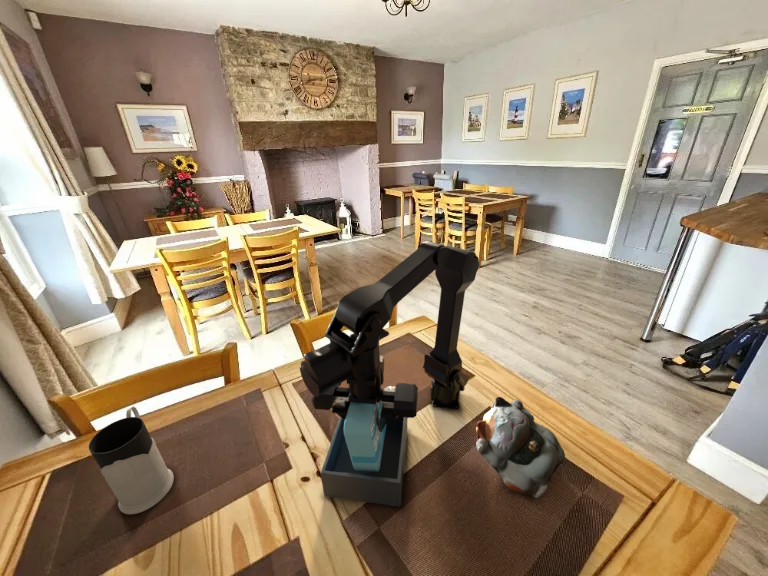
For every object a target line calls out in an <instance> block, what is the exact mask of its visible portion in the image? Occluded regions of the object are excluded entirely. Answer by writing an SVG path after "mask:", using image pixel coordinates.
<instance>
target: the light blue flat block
mask: <svg viewBox="0 0 768 576" xmlns="http://www.w3.org/2000/svg"><path fill="white" fill-rule="evenodd" d="M381 409H382V402H381V404H366V403H354V402H351V403H350V406H349V409H348V412H347V416H346V419H345V422H344V435H345V438H346V442H347V446H348V449H349V453H350V457H351V460H352V464H353V467H354V470H355V471H375V472H378V471H379V469H380V464H381V458H382V451H383V445H384V438H385V432H386V425H385V427H384V429H383V430H382V432H380V431H379V423H380V415H381Z"/></svg>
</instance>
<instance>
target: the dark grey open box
mask: <svg viewBox="0 0 768 576" xmlns="http://www.w3.org/2000/svg"><path fill="white" fill-rule="evenodd" d="M344 422H345V420H344V419H342V418H341V417H340V416H339V417H338V420H337V422H336V423H337V424H336V426H335V430H334V431H333V435H332V438H331V441H330V444H329V447H328V450H327V453H326V456H325V459H324V461H323V465H322V467H321V470H320V478H321V484H322V490H323V497H326V498H332V499H340V500H341V499H342V500H348V501H355V502H363V503H368V504H369V503H370V504H378V505H386V506H392V507H399V508H400V507H402V494H403V483H404V473H405V460H406V449H407V438H408V418H407V417H398V416H397V418H396V419H390V420H389V422H388V423H387V424H386V432H385V438H384V445H383V451H382V458H381V464H380V469H379V471H378V472H375V471H355V470H354V467H353V464H352V460H351V457H350V453H349V449H348V446H347V442H346V438H345V435H344Z"/></svg>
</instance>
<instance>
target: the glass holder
mask: <svg viewBox="0 0 768 576" xmlns="http://www.w3.org/2000/svg"><path fill="white" fill-rule="evenodd" d="M132 413H133V415H134V416H132ZM125 415H126V416H125V418H120V419H118V420H115V421H114V422H111V423H110V424H108V425H106V426H105V427H103V428H102V429H101V430H99V431H98V432H97V433H96V434H95V435H94V436H93V437H92V438H91V440H90V441H89V443H88V451H89V452H90V454H91V455H92V457H93V459H94V460H95V462H96V464H97V466H98V470H99V472H100V473H101V475H102V477H103V478H104V479H105V481H106V483H107V485H108V486H109V487H110V489H111V491H112V492H113V494H114V496H115V497H116V499H117V501H118V508H119V511H120V512H121V513H123V514H124V515H136V514H139V513H142V512H146V511H147V510H149V509H151V508H152V507H154V506H155V505H156V504H158V503H159V502H160V501H162V499H164V497H165V496H166V495H167V494H168V493H169V491H170V490H171V488H172V486H173V484H174V481H175V476H174V473H173V471H172V470H171V469H170V468H168V467H167V465H166V463H165V461H164V458H163V456H162V454H161V452H160V450H159V448H158V446H157V444H156V441H155V440H154V437H152V436H151V434H150V433H149V430H148V428H147V426H146V424H145V422H144V420H143V419H142V418H141V416H140V413H139V411H138V409H137V407H136V406H133V405H132V406H129V407H128V408H127V410H126V414H125Z"/></svg>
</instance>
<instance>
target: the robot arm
mask: <svg viewBox="0 0 768 576" xmlns="http://www.w3.org/2000/svg"><path fill="white" fill-rule="evenodd" d="M479 268H480V259H479V256H478V255H477V253H476V252H474V251H472V250H467V249H464V248H460V247H456V246H452V245H444V244H441V243H437V242H433V241H429V240H428V241H423V242H421V243H420V244H419V245H418V247H417V249H416V250H415V251H413V252H412V253H411V254H410V255H408V256H407V257H406V258H404V259H403V260H402V261H401V262H400V263H398V264H397V265H396V266H395V267H394V268H392V269H391V270H390V271H389V272H387V273H386V274H385V275H384V276H383V277H381V278H380V279H378V281H376V282H373V283H371V284H367V285H362V286H359V287H358V288H356V289H354V290H352V291H351V292H348V293H346V294H345V295H344V296H343V297H342V298H340V299H339V301H338V302H337V304H336V305H337V308H336V310H335V312H334V314H333V316H332V318H331V321H330V322H329V324H328V326H327V329H326V331H325V332H324V337H325V338H327V339H328V340H329V343H327V344H325V345H323V346H321V347H319V348H316V349H313V350H310V351H308V352H306V353H305V354H304V355H303V359H304V360H302V361H301V362H300V367H299V372H300V376H301V379H302V381H303V383H304V385H305V387H306V388H307V390H308V391H309V393H310V394H311V403H312V404H311V405H312V407H313V409H314V410H319V411H320V410H321V411H331V414H335V415H337V416H338V417H339V418H340V417H341V418H342V419H344V420H345V419H346V416H347V412H348V409H349V406H350V403H351V402H354V403H366V404H381V402H382V409H381V415H380V423H379V431H380V432H382V430H383V429H384V427H385V425H386V424H387V423H388V422H389V420H390V419H396V418H397V416H398V417H407V419H408V418H409V419H414V418H415V417H417V413H418V397H419V388H418V387H419V386H417V385H416V384H415V383H406V382H396V385H395V386H386V387H385V388H382V386H383V385H384V383H385V376H384V375H385V374H384V373H385V356H384V355H382V354H380V341H381V340H383V339H384V338H386V337H388V336H389V335H390V332H389V331H388V330H386V329H384V328H385V327H386V326H387V324H388V323H389V322H390V321H391V319H392V317H393V312H394V309H395V307H396V306H397V305H398V304H399V302H401V301H402V300H403V299H404V298H405V297H406V296H407V295H409V294H410V293H411V292H412V291H413V290H414V289H415V288H416V287H418V286H419V285H420V284H421V283H422V282H423V281H424V280H426V279H427V278H428V277H429V276H430V275H431V274H432V273H433V272H434V271H435V273H434V274H435V277H436V279H437V280H436V281H437V282H438V285H439V287H440V295H439V303H438V304H439V305H438V314H437V323H436V330H435V331H436V332H435V340H434V347H433V348H431V350H430V351H429V352H428V353H425V355H424V356H423V357H424V359H423V360H424V362H423V366H422V369H423V370H424V371H423V372H424V373H425V374H427V377H429V378H431V379H432V380H431V382H430V400H431V401H432V408H434V409H435V408H436V409H446V410H447V409H448V410H460V409H461V408H460V407H461V406H460V396H461V395H460V393H461V392H464V391H465V388H466V385H467V384H468V381H469V377H470V376H469V375H467V374H465V373H464V372H463V360H462V358H461V356H460V353H459V351H458V344H459V343H458V342H459V336H460V329H461V321H462V317H463V316H462V314H463V310H464V309H463V307H464V300H465V294H466V290H467V289H468V288H469V287H470V286H471V285H472V284H473V283H474V281H475V280H476V276H477V274H478V273H477V272H478V271H479ZM343 328H345V329H347V330H348V331H349V332H351V334H349V335H348V334H347V333H346V332H344V331H343V330H342V329H343ZM343 382H346V385H348V387H342V386H341V385H342V383H343Z"/></svg>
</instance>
